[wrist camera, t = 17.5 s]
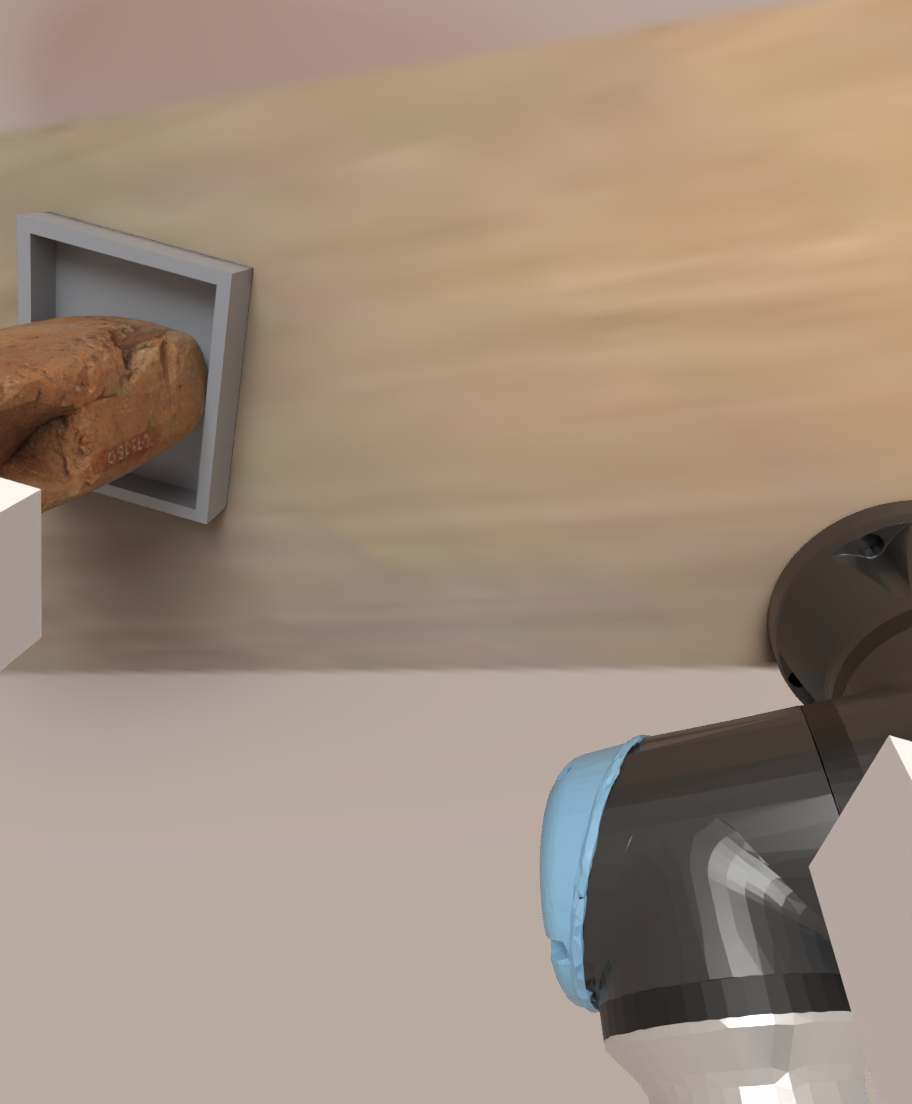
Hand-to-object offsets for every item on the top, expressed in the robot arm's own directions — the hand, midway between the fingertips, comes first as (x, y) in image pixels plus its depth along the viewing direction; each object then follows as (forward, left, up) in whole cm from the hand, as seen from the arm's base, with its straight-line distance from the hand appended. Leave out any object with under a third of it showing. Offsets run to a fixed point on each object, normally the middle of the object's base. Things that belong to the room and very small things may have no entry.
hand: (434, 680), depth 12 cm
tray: (+24, +10, -37) cm, 45 cm away
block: (+24, +10, -36) cm, 44 cm away
